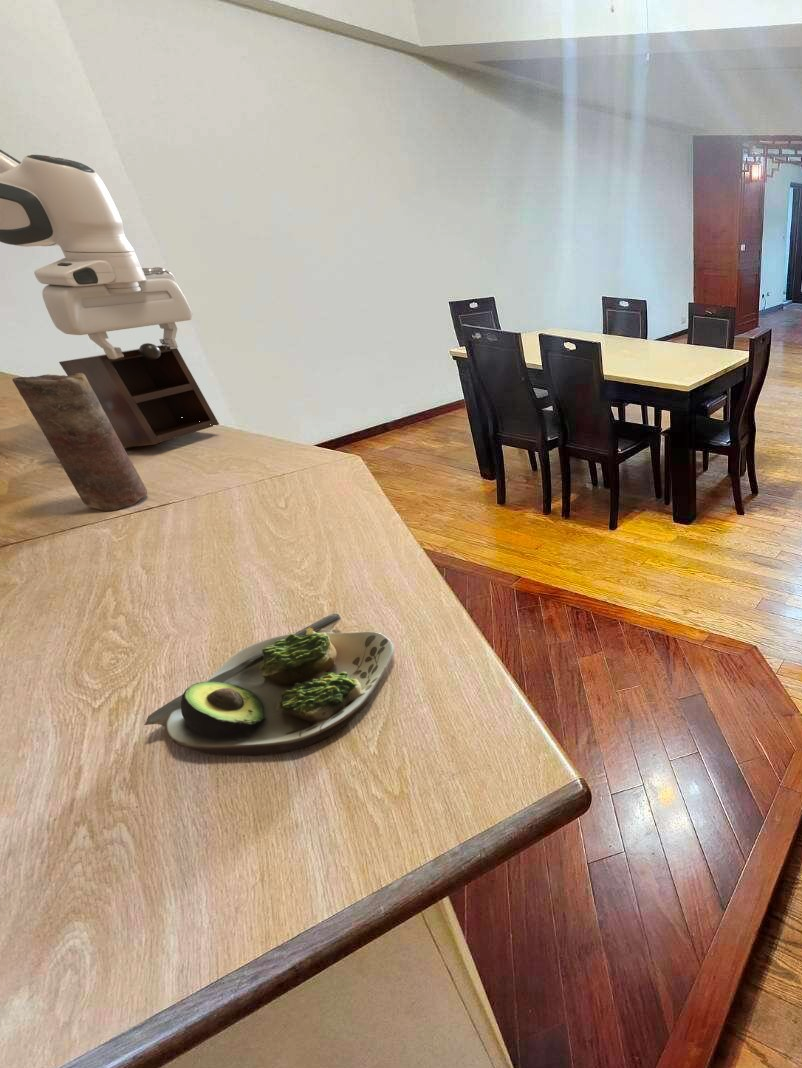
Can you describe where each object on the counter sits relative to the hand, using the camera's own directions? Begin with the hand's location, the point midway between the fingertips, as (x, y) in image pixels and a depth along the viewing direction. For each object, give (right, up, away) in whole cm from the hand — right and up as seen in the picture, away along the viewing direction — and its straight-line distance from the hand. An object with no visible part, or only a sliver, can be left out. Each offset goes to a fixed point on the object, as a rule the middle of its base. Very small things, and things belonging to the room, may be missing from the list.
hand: (144, 353), depth 108 cm
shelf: (-10, -6, +6) cm, 13 cm away
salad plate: (+64, -51, -49) cm, 96 cm away
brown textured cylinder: (+10, -29, -14) cm, 34 cm away
